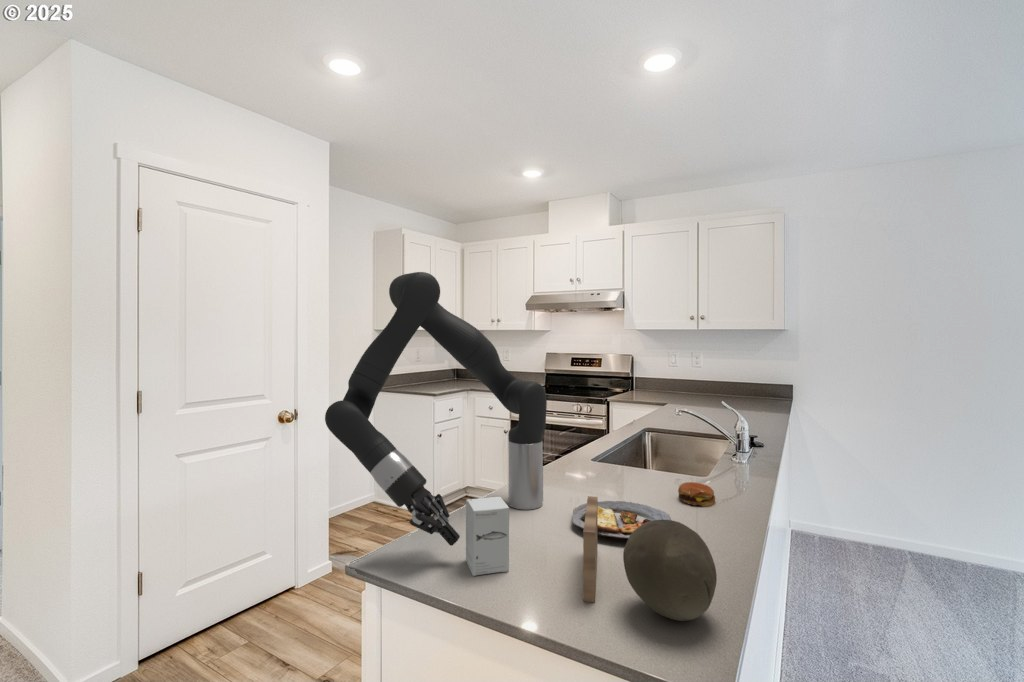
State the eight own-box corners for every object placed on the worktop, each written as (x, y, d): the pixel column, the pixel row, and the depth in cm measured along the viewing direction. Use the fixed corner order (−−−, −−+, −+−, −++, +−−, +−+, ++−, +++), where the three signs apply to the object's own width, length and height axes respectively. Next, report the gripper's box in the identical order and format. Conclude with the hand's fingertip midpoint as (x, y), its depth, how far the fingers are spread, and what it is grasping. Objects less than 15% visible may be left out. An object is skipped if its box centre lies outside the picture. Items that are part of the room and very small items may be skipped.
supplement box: (472, 577, 94) (472, 510, 94) (465, 560, 101) (465, 498, 101) (510, 572, 96) (509, 507, 95) (500, 555, 103) (500, 495, 103)
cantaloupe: (694, 591, 88) (694, 507, 88) (731, 640, 74) (732, 540, 74) (615, 593, 88) (615, 508, 88) (638, 642, 74) (638, 542, 74)
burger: (696, 494, 143) (696, 478, 143) (722, 504, 134) (722, 487, 134) (669, 499, 139) (670, 482, 138) (694, 510, 130) (695, 492, 130)
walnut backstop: (587, 553, 104) (587, 496, 104) (597, 554, 103) (597, 496, 103) (583, 601, 85) (583, 531, 85) (595, 602, 85) (595, 532, 85)
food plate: (679, 551, 105) (679, 534, 105) (568, 543, 109) (568, 526, 109) (666, 513, 129) (666, 499, 129) (576, 507, 134) (576, 494, 134)
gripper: (396, 474, 95) (458, 543, 92) (422, 457, 108) (477, 517, 105) (371, 500, 96) (432, 569, 94) (399, 480, 109) (453, 540, 106)
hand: (456, 541), depth 99 cm, fingers closed
